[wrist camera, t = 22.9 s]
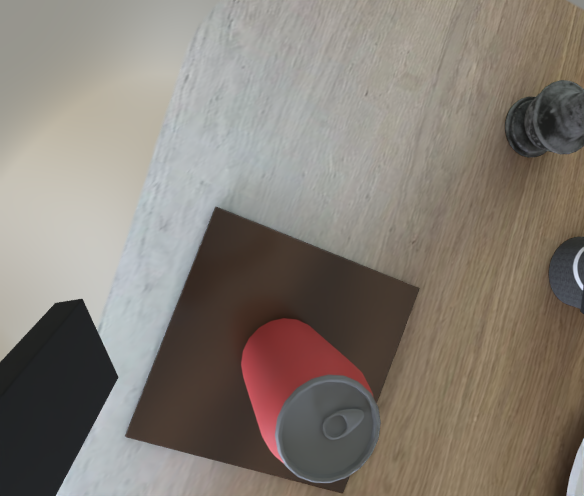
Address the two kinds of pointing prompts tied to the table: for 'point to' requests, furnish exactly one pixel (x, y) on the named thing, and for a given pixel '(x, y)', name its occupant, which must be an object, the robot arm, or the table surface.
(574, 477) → the plate
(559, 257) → the coffee cup
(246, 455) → the back mat
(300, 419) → the beer can
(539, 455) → the table surface
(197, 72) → the table surface
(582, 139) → the salt shaker
